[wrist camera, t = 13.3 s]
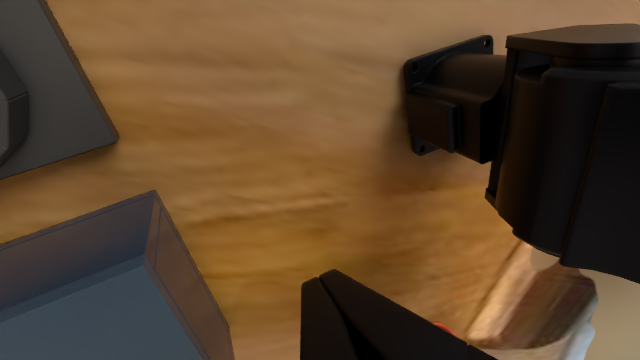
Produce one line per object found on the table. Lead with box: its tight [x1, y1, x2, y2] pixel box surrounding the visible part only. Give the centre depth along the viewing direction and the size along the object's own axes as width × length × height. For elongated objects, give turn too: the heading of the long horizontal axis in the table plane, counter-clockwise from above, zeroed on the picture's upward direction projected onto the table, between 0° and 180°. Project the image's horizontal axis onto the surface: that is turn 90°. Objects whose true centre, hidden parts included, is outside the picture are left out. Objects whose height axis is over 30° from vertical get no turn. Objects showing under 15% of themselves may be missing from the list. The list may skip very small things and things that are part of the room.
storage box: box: [0, 190, 235, 360], centre depth 17 cm, size 12×12×6 cm
